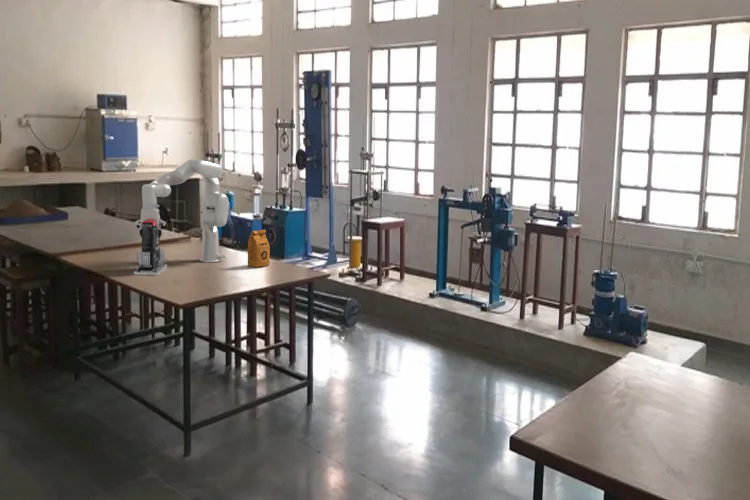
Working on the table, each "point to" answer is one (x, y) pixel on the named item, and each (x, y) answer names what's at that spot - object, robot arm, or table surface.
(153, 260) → the graphics card box
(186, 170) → the robot arm
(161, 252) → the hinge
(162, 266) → the rail mount
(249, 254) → the coffee package
